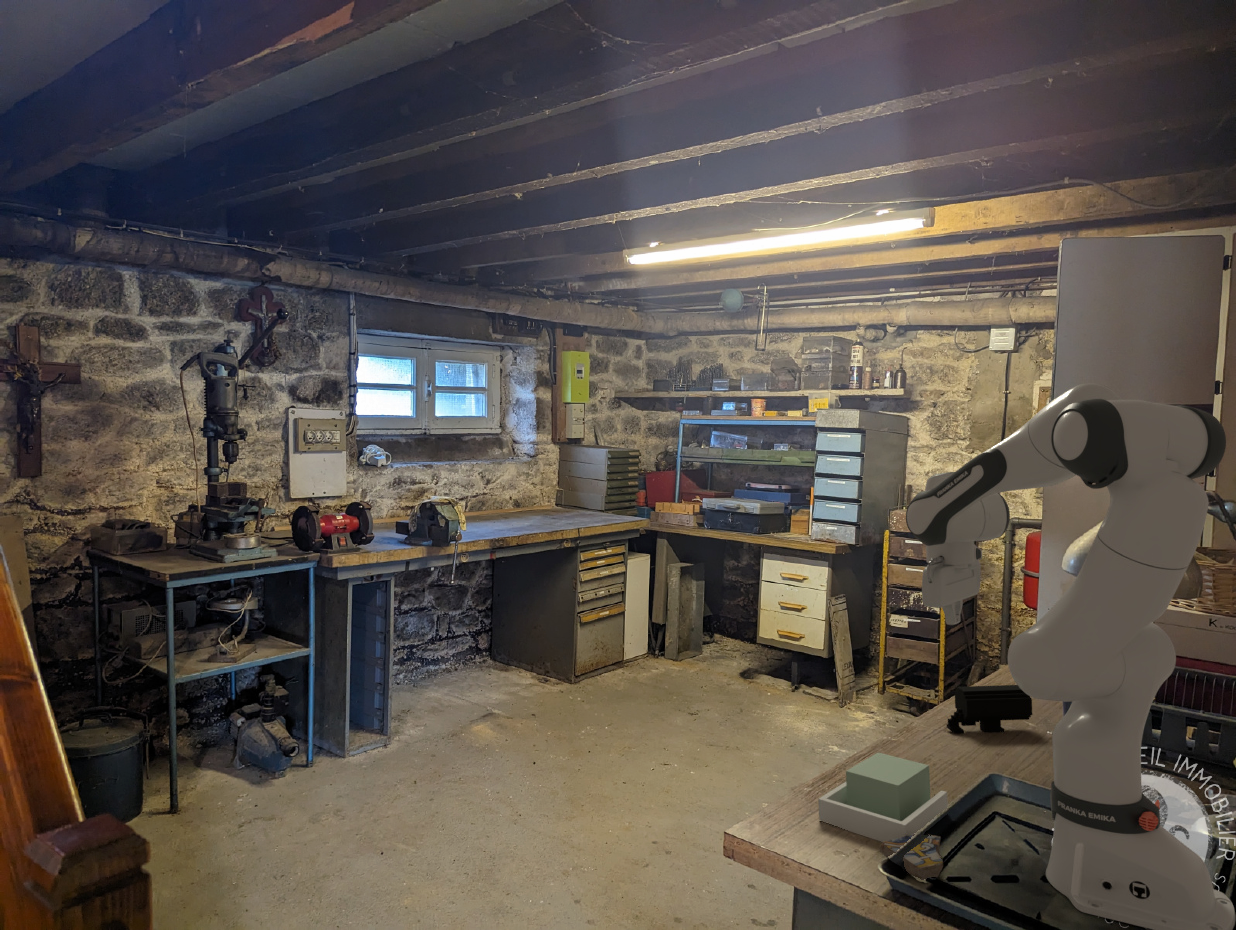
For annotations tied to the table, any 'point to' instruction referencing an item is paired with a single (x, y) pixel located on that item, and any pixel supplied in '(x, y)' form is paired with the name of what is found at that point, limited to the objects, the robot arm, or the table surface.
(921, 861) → the ceramic tile fragment
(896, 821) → the box
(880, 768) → the block
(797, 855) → the table surface
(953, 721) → the security camera
